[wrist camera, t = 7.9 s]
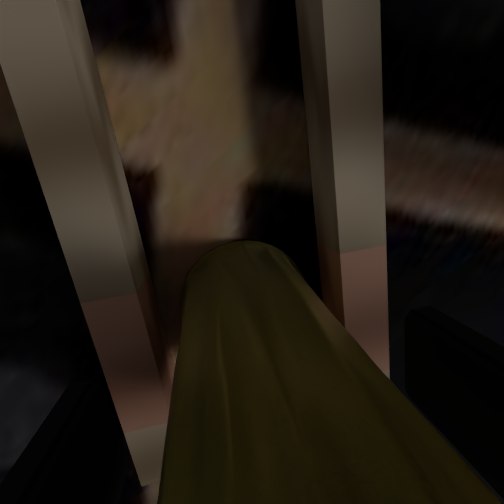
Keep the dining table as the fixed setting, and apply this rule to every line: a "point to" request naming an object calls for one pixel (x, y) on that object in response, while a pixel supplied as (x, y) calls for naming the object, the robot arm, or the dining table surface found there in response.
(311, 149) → the slot rails
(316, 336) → the vase
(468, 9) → the dining table surface
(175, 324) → the dining table surface
